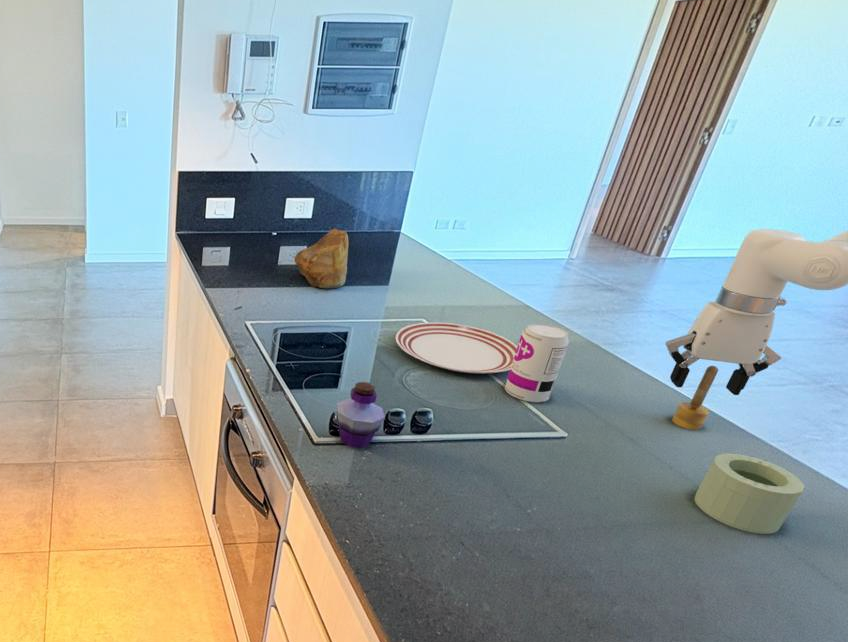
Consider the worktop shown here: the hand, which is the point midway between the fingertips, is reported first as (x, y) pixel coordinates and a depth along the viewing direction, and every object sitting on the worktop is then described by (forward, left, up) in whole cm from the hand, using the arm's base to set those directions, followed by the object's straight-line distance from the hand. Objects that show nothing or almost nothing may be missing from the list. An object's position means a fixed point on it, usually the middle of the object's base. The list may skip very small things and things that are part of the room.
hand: (703, 387), depth 116 cm
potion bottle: (+61, +28, -9) cm, 68 cm away
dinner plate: (+39, -19, -9) cm, 44 cm away
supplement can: (+27, -3, -9) cm, 29 cm away
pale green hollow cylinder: (+4, +29, -8) cm, 30 cm away
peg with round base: (0, 0, -8) cm, 8 cm away
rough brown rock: (+74, -67, -9) cm, 100 cm away
